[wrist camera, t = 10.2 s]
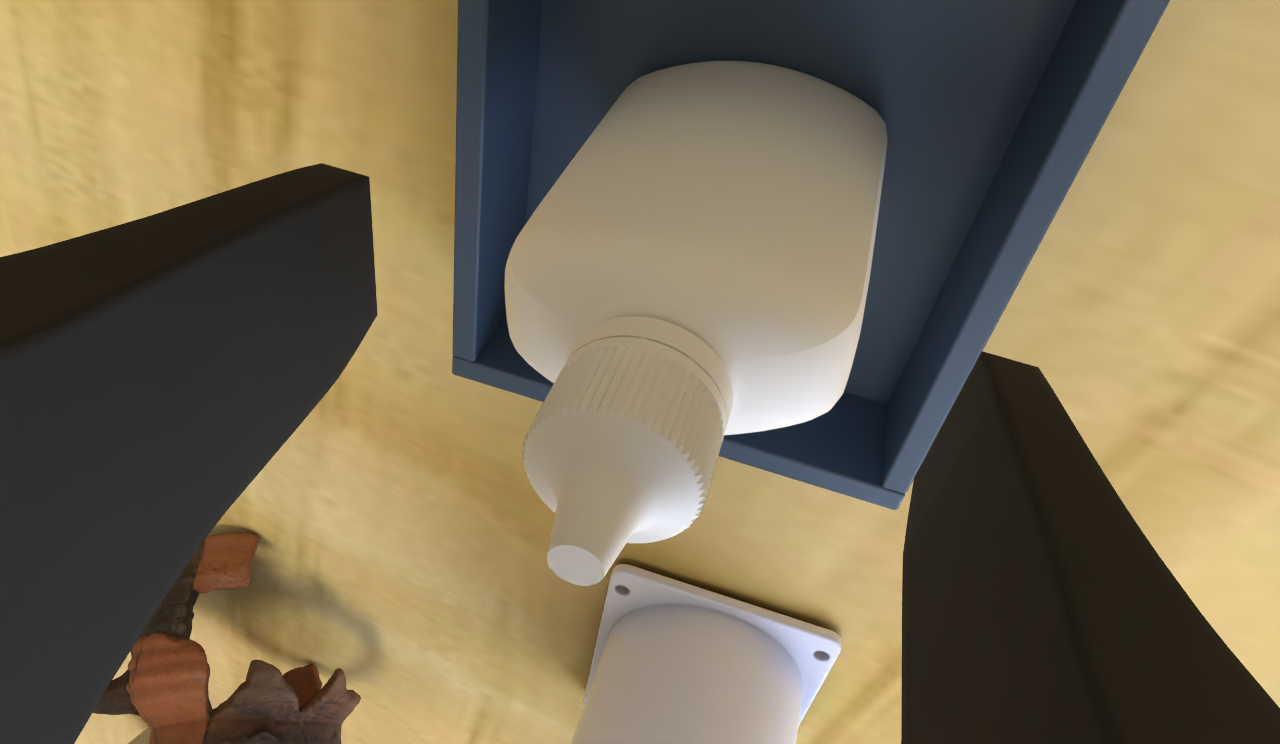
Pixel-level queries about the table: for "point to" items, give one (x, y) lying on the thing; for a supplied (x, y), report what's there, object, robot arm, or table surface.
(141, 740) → the ceramic sculpture
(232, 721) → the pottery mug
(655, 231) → the eye dropper bottle
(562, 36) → the tray
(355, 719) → the table surface
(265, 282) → the robot arm
